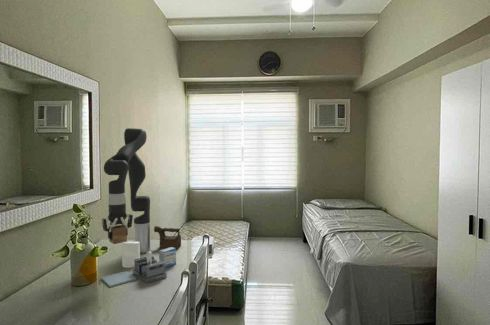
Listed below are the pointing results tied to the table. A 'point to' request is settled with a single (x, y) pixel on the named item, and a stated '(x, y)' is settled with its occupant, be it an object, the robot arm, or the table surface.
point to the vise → (149, 268)
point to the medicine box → (168, 256)
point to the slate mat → (118, 278)
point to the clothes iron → (168, 238)
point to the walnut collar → (119, 234)
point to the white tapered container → (130, 253)
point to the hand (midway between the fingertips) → (117, 238)
